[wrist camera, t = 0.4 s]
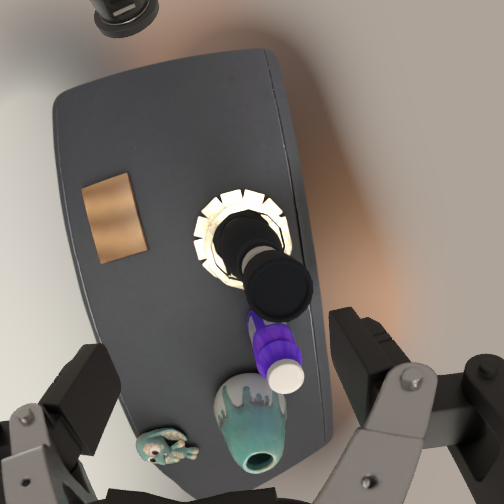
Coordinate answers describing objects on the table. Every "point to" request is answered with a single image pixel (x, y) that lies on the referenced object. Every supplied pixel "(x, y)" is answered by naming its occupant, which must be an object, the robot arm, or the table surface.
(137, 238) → the cork mat
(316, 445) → the table surface
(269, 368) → the bottle
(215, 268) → the ring stand
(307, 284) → the wine bottle
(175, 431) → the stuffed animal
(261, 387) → the vase
